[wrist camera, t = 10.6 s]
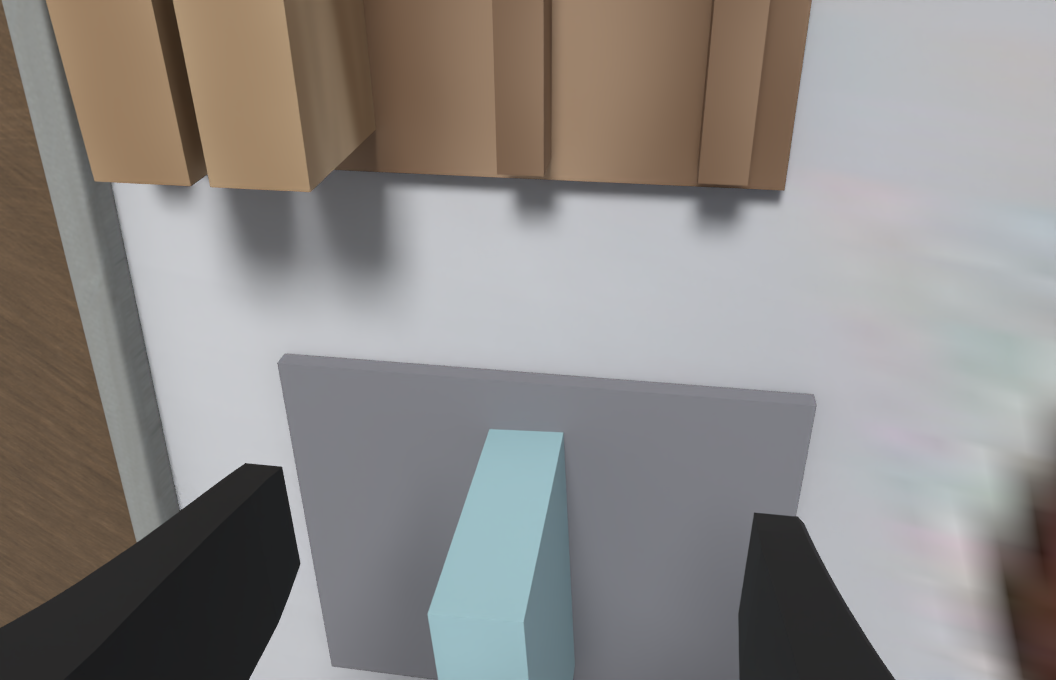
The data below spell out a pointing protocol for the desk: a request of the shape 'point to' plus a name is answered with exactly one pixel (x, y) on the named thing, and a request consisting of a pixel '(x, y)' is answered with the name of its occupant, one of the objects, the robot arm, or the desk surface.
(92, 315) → the grey flat rectangular frame
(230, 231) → the desk surface
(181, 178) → the offcut
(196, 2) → the offcut
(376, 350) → the desk surface
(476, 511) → the pale teal block
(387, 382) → the mat
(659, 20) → the rack
